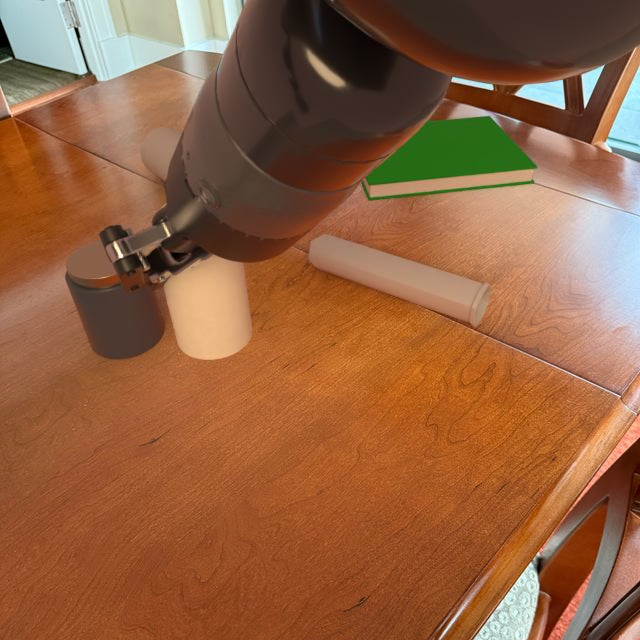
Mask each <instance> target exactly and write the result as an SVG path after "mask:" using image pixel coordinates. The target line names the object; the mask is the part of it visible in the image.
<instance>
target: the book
mask: <svg viewBox="0 0 640 640" xmlns="http://www.w3.org/2000/svg"><path fill="white" fill-rule="evenodd" d="M536 169H538V165H537V164H536V163H535V162H534V161H533V160H532V159H531V158H530V157H529V156H528V155H527V153H525V152H524V150H523V149H522V148H521V147H520V146H519V145H518V144H517V142H515V141H514V140H513V138H511V137H510V135H508V134H507V132H506V131H505V130H504V129H503V128H502V127H501V126H500V124H498V122H496V121H495V120H494V118H492V117H491V115H483V116H473V117H460V118H451V119H450V118H449V119H439V120H428V121H427V123H426V124H425V125H424V126H423V127H422V128H421V129H420V130H419V131H418V132H417V133H416V134H415V135H413V136H412V137H411V138H410V139H409V140H408V141H407V142H406V143H405V144H404V145H402V146H401V147H400V148H399V149H398V150H397V151H395V152H394V153H393V154H392V155H391V156H390V157H388V158H387V159H386V160H385V161H384V162H383V163H381V164H380V165H379V166H378V167H377V168H375V169H374V170H373V171H372V172H371V173H370V174H368V175H367V176H366V177H365V178H364V179H363V180H362V182H361V183H360V184H361V186H362V188H363V191H364V193H365V195H366V198H367V200H368V201H377V200H388V199H398V198H406V197H415V196H427V195H435V194H445V193H453V192H463V191H464V192H465V191H472V190H473V191H474V190H483V189H492V188H503V187H511V186H512V187H513V186H519V185H520V186H522V185H531V184H535V180H533V176H534V172H535V170H536Z"/></svg>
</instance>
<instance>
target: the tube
mask: <svg viewBox="0 0 640 640" xmlns="http://www.w3.org/2000/svg"><path fill="white" fill-rule="evenodd" d="M307 260H308V261H309V262H310V263H311V264H312V266H314V267H315V269H317V270H318V271H321V272H324V273H326V274H328V275H332V276H335V277H338V278H340V279H343V280H346V281H348V282H352V283H355V284H357V285H360V286H364V287H366V288H369V289H372V290H374V291H378V292H380V293H383V294H385V295H389V296H392V297H394V298H397V299H400V300H403V301H405V302H408V303H411V304H414V305H417V306H421V307H423V308H426V309H429V310H431V311H434V312H437V313H440V314H443V315H446V316H448V317H451V318H453V319H454V318H455V319H456V320H459V321H463V322H466V323H468V324H470V325H471V326H472V327H474V328H477V327H478V326H479V324H480V322H481V321H482V319H483V318H484V316H485V314H486V312H487V309H488V307H489V304H490V300H491V295H492V287H491V284H490V282H484V283H483V282H479V281H476V280H473V279H470V278H467V277H463V276H461V275H458V274H454V273H452V272H448V271H445V270H441V269H438V268H437V267H436V268H435V267H433V266H429V265H426V264H423V263H420V262H417V261H413V260H410V259H407V258H404V257H401V256H397V255H394V254H392V253H388V252H385V251H383V250H379V249H376V248H372V247H369V246H365V245H363V244H360V243H357V242H354V241H350V240H347V239H344V238H341V237H338V236H336V235H331V234H328V233H324V234H322V235H319V236H317V237H316V238H314V239H312V240H310V244H309V248H308V253H307Z"/></svg>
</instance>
